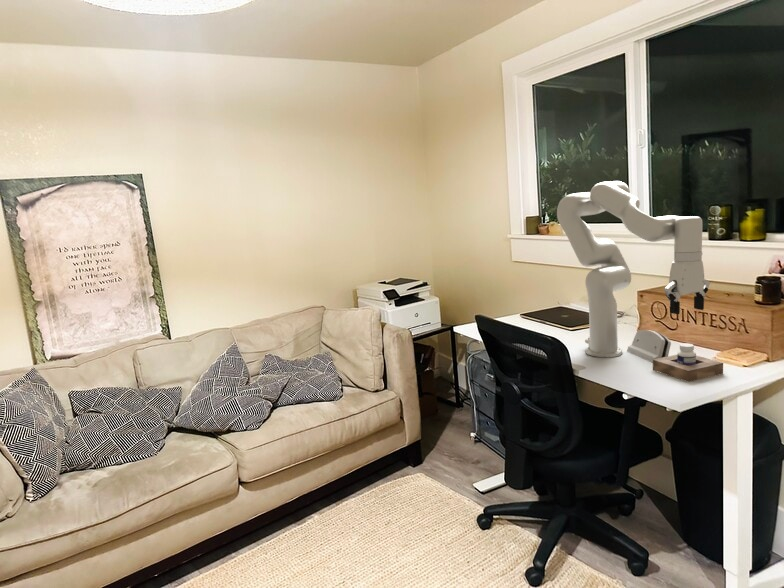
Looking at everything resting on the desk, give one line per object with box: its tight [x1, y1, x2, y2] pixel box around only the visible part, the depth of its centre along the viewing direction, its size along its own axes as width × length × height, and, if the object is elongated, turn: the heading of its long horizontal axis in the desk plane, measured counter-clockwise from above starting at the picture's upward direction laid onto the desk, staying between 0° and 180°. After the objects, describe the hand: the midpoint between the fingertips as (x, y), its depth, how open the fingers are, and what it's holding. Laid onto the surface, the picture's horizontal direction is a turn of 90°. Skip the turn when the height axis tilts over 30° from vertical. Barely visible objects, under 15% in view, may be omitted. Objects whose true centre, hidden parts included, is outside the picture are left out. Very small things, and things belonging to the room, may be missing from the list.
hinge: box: [626, 329, 672, 364], centre depth 198 cm, size 17×5×10 cm, turn 9°
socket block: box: [652, 354, 724, 383], centre depth 179 cm, size 14×14×4 cm
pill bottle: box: [676, 342, 697, 366], centre depth 178 cm, size 5×5×9 cm
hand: (686, 311), depth 176 cm, fingers open, 9 cm apart
